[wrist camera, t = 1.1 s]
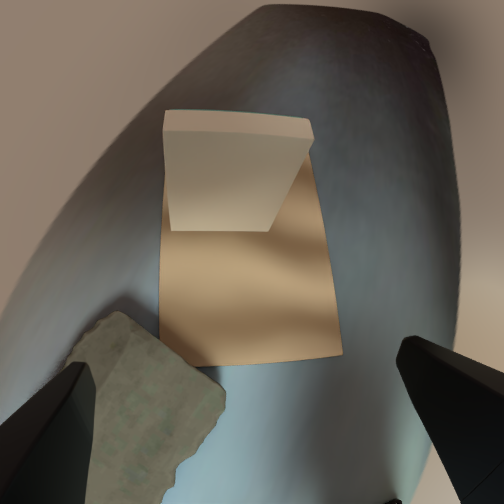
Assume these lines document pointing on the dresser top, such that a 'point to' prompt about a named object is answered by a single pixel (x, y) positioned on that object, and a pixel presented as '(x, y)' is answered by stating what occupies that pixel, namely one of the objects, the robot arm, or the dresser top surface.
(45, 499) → the robot arm
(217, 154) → the glazed tile
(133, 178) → the dresser top surface
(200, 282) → the tan wooden board
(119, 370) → the stone slab
